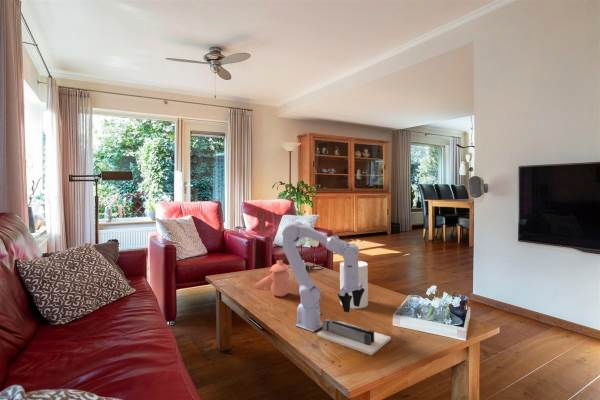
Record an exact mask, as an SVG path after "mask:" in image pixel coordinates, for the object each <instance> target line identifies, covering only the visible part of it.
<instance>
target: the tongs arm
mask: <svg viewBox="0 0 600 400" xmlns="http://www.w3.org/2000/svg"><path fill="white" fill-rule="evenodd" d="M338 321H339V320H332V321H331V322H332V323H334V324H337V325H341V326H344V327H347V328H350V329H353V330H357V331H360V332H363V333H367V334H370V335H371V342H374V332H375V331H373V330H370V329H366V328H363V327H360V328H359V326H357V327H356V325H353V326H352V324H350V325H348V324H349V323H347V324H345V323H346V322H343V323H341V322H342V321H340V322H338Z"/></svg>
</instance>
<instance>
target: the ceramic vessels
mask: <svg viewBox="0 0 600 400" xmlns="http://www.w3.org/2000/svg"><path fill="white" fill-rule="evenodd" d="M288 270H289V266H288V264H286V263H284V262H283V260H282V259H280V260H279V259H278V260H276V263H275V264H273V265H271V268H270V269H269V275H267V276H265V277H264V278H262V279H261V280H259V281H258V282H256V283H254V285H253V288H255V289H256V290H260V291H271V293H272V294H273V295H274V296H276V297H279V296H280V297H285V296H286V295H287V294H288V293H289V292H290V283H289V282H288V280H289V279H290V274H289V273H290V272H288Z"/></svg>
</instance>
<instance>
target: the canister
mask: <svg viewBox="0 0 600 400" xmlns="http://www.w3.org/2000/svg"><path fill="white" fill-rule="evenodd" d="M368 266H369V265H368V263H367V262H366V261H362V260H358V272H359V282H363V287H361V288H364V293H363V295H362V297H361V301H360V305H359V307H357V306H354V303H353V297H352V299H351V302H350V309H364V308H366V307H367V306H369V286H368V284H369V282H368V281H369V280H368V278H369V277H368V275H369V273H368V272H369V271H368V269H369V267H368ZM339 281H340V282H339V288H340V289H339V290H341V289H342V287H343V286H344V260H343V261H341V262H340V263H339ZM348 294H349V295H350V296H353V295H352V291H351V292H349V293H348ZM339 301H340V305H341V306H342V303H341V300H340V299H339Z"/></svg>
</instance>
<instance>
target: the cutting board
mask: <svg viewBox="0 0 600 400" xmlns="http://www.w3.org/2000/svg"><path fill="white" fill-rule="evenodd" d="M337 321H338V322H341V323H345V324H348V325H352V324H349V323H346V322H344V321H339V320H337ZM352 326H354V325H352ZM355 326H356V325H355ZM356 327H359V326H356ZM359 328H361V327H359ZM316 337H319V338H322V339H325V340H327V341H330V342H333V343H336V344H338V345H342V346H344V347H347V348H350V349H353V350H355V351H358V352H360V353H361V352H362V353H365V354H367V355H370V356H373V355H374V354H375V353H377V352H378V351H379V350H380V349H381V348H382V347H383V346H385V345H386V344H387V343H389V342H390V341H391V340H392V337H391V336H390V335H386V334H383V333H380V332H377V331H374V342H371V345H370V346H369V345H366V344H363V343H360V342H357V341H354V340H351V339H348V338H345V337H342V336H339V335H336V334H333V333H330V332H329V331H324V330H323V329H322V330H320V331H318V332H317V333H316Z"/></svg>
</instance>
